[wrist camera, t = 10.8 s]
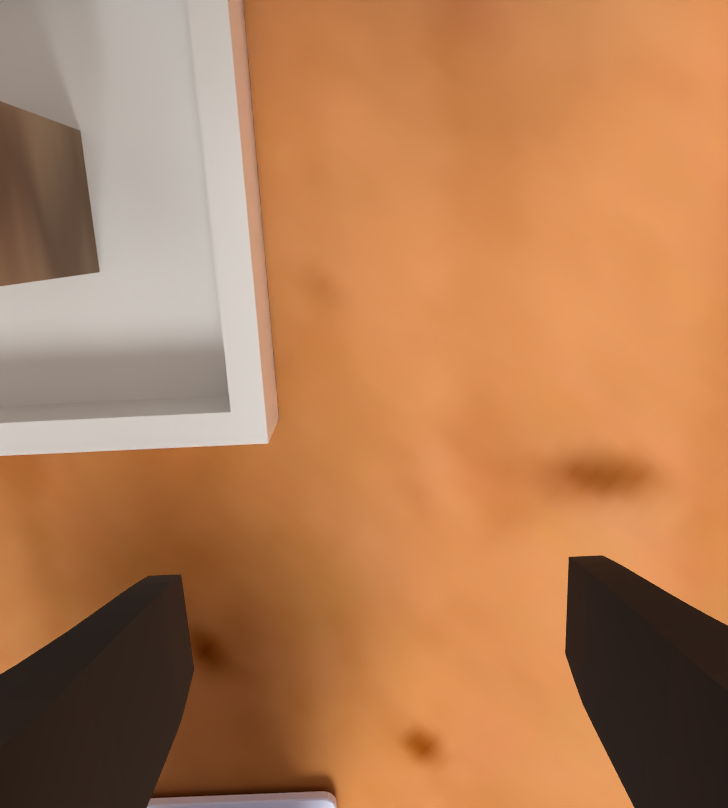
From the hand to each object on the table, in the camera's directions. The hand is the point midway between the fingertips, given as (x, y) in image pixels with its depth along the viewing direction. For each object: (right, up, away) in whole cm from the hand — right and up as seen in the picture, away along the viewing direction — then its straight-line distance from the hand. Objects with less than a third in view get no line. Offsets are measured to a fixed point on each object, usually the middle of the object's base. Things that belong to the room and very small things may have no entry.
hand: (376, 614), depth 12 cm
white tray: (-10, +10, +8) cm, 16 cm away
